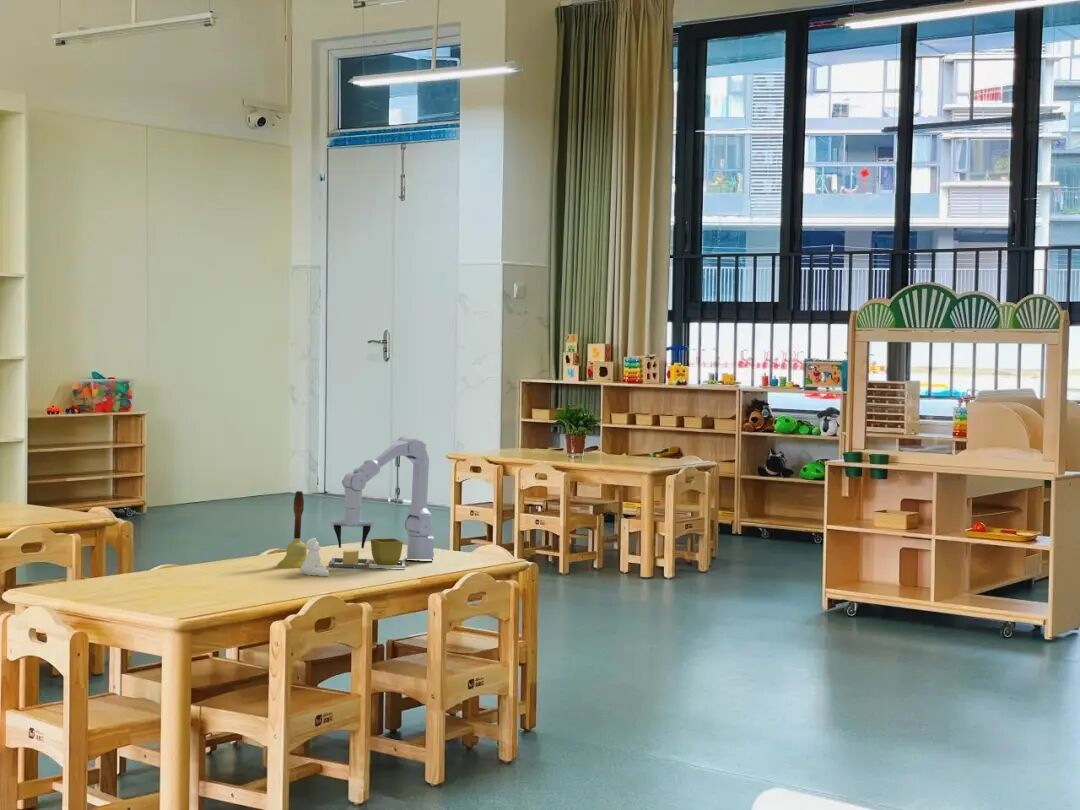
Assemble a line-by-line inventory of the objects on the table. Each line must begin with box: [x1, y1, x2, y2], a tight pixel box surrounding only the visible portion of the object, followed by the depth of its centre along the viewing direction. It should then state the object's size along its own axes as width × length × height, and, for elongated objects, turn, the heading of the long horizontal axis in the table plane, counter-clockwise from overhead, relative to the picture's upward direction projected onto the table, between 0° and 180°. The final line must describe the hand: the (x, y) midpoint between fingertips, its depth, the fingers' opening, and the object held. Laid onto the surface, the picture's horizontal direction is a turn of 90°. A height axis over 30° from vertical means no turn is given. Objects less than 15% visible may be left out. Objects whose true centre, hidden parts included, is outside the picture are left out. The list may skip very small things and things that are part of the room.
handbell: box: [277, 490, 308, 569], centre depth 442 cm, size 12×12×25 cm
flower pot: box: [370, 537, 404, 566], centre depth 449 cm, size 9×9×9 cm
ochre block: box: [342, 548, 359, 564], centre depth 448 cm, size 5×5×5 cm
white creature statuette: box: [300, 537, 330, 577], centre depth 426 cm, size 10×9×12 cm
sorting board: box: [329, 557, 406, 569], centre depth 449 cm, size 25×13×1 cm, turn 96°
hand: (351, 547), depth 448 cm, fingers open, 7 cm apart
